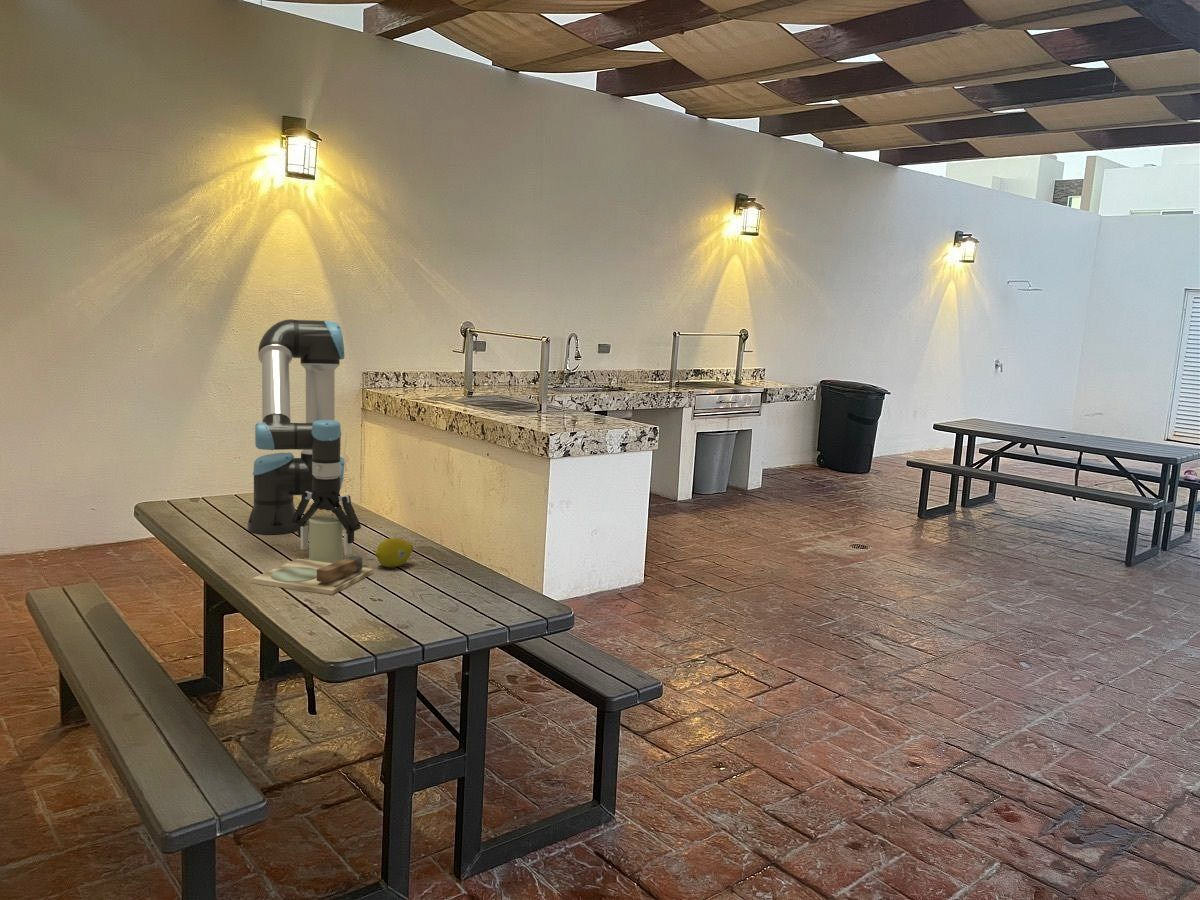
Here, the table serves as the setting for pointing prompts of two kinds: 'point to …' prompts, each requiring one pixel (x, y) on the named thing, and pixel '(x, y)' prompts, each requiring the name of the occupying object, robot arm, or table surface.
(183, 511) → the table surface
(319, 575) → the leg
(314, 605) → the table surface
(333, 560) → the can
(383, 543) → the lemon
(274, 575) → the board
